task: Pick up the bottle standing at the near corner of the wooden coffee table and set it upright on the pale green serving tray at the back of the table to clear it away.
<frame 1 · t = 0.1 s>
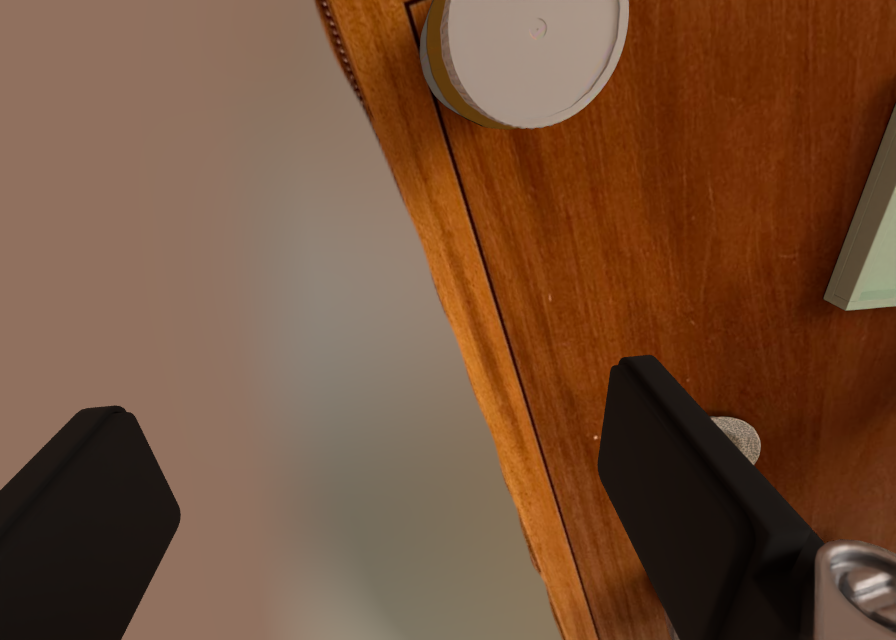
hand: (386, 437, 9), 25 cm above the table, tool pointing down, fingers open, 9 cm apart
pastry: (694, 454, 47), on the table
bottle: (475, 53, 28), on the table
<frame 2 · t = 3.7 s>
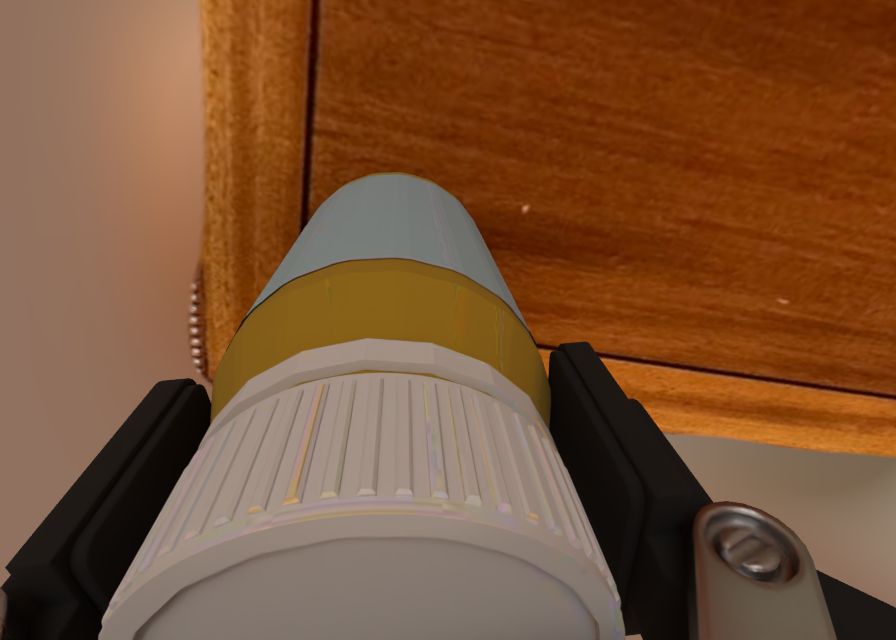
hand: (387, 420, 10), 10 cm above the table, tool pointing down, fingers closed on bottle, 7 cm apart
bottle: (395, 255, 19), on the table, touching gripper
when the fingers open (11 cm above the table, at t = 12.8 s): bottle stays where it is, resting on tray.
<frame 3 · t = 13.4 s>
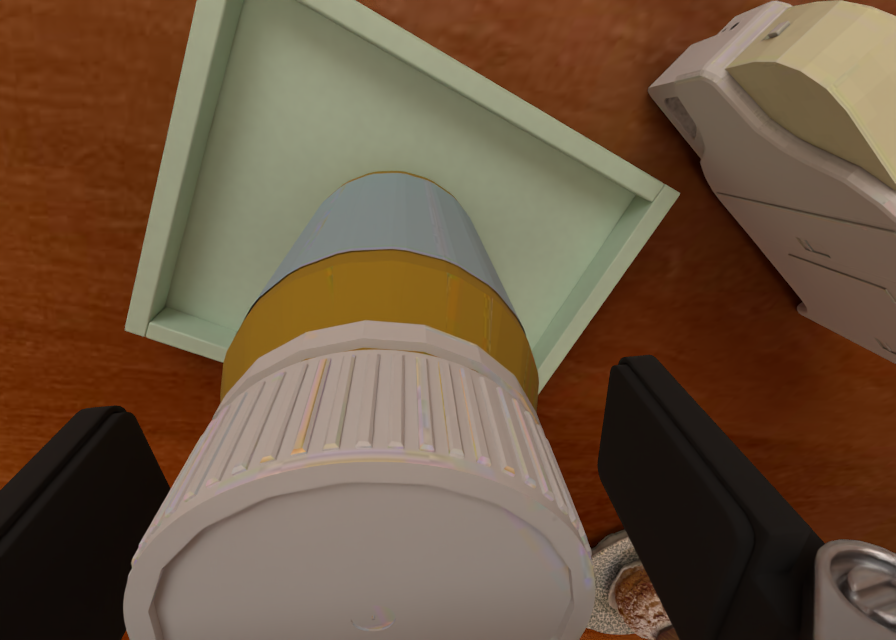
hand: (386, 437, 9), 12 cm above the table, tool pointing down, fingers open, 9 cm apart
pastry: (640, 568, 33), on the table
tray: (397, 245, 20), on the table
light grey boxy piece: (745, 188, 20), on the table
bottle: (394, 251, 19), point 1 cm above the table, touching tray
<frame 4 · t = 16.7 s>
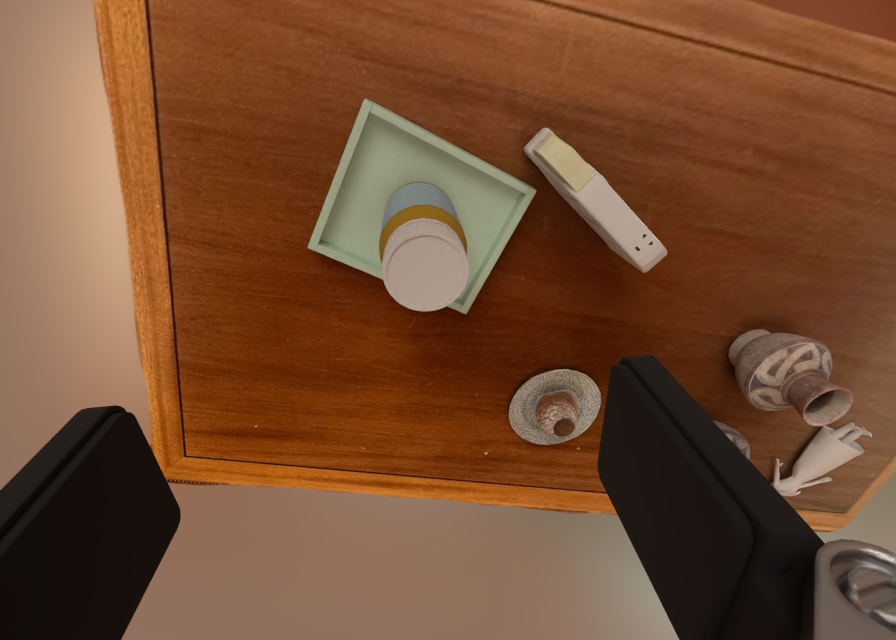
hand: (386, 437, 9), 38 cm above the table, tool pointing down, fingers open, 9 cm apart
pastry: (552, 402, 59), on the table
tray: (420, 213, 46), on the table
pottery: (710, 391, 60), on the table
woman figurine: (798, 458, 68), on the table
light grey boxy piece: (573, 188, 46), on the table
bottle: (419, 215, 45), point 1 cm above the table, touching tray
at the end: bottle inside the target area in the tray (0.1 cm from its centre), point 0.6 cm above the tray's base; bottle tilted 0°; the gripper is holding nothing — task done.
